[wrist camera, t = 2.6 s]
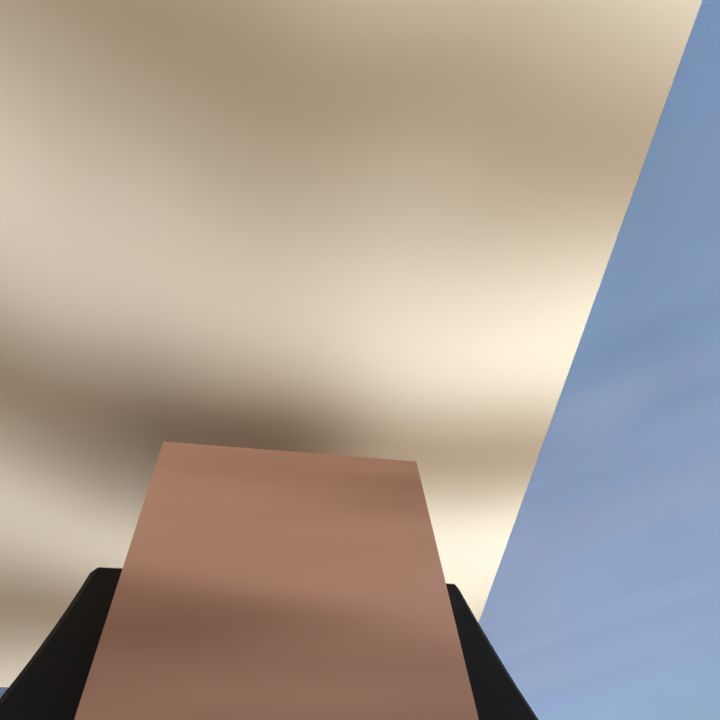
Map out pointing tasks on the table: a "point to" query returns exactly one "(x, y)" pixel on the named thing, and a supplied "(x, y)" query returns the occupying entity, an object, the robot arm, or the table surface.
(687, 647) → the table surface
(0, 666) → the build mat
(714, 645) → the table surface
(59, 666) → the robot arm
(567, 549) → the table surface
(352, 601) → the block
